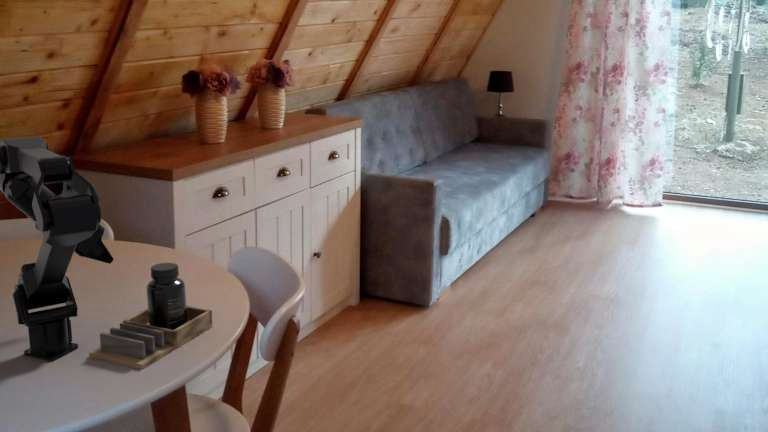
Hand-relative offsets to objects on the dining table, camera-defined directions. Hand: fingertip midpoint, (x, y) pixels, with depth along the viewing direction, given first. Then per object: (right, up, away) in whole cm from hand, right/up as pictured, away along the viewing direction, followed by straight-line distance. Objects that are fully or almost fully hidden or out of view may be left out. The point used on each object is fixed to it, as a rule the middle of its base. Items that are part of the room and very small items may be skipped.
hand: (101, 255), depth 154 cm
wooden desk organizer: (+11, -15, -6) cm, 20 cm away
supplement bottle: (+13, -13, -2) cm, 19 cm away
